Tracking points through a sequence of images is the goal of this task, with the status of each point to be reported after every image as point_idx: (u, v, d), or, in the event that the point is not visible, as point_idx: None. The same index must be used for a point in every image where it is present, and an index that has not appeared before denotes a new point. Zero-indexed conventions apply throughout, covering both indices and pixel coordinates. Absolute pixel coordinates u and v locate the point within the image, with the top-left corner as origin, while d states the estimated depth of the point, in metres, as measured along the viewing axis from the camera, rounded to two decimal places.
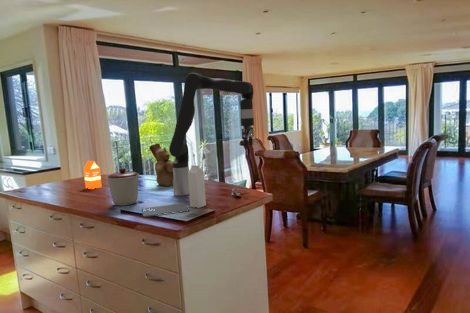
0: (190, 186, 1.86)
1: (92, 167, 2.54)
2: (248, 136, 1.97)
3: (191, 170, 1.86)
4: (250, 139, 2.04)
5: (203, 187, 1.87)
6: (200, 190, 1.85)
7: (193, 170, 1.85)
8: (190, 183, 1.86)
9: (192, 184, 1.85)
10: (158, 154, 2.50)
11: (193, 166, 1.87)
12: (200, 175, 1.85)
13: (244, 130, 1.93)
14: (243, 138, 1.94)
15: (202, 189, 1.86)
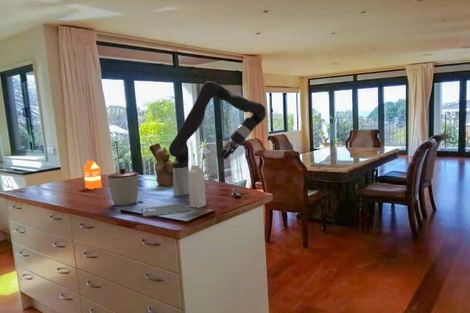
0: (190, 186, 1.86)
1: (92, 167, 2.54)
2: None
3: (191, 170, 1.86)
4: (223, 152, 1.94)
5: (203, 187, 1.87)
6: (200, 190, 1.85)
7: (193, 170, 1.85)
8: (190, 183, 1.86)
9: (192, 184, 1.85)
10: (158, 154, 2.50)
11: (193, 166, 1.87)
12: (200, 175, 1.85)
13: (236, 145, 1.84)
14: (230, 151, 1.84)
15: (202, 189, 1.86)
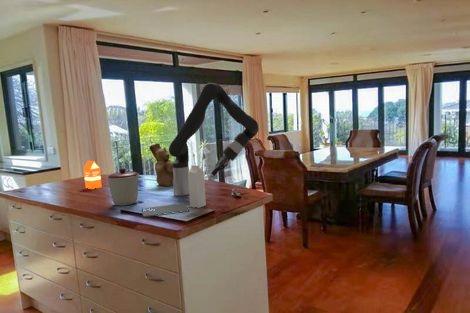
0: (190, 186, 1.86)
1: (92, 167, 2.54)
2: None
3: (191, 170, 1.86)
4: None
5: (203, 187, 1.87)
6: (200, 190, 1.85)
7: (193, 170, 1.85)
8: (190, 183, 1.86)
9: (192, 184, 1.85)
10: (158, 154, 2.50)
11: (193, 166, 1.87)
12: (200, 175, 1.85)
13: (225, 164, 1.85)
14: (219, 167, 1.87)
15: (202, 189, 1.86)
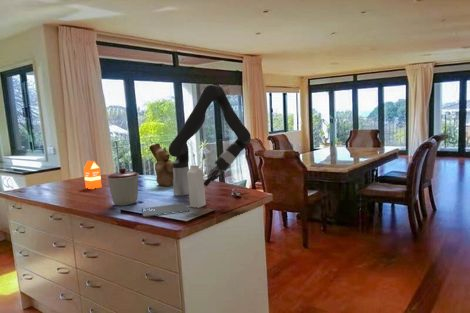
0: (190, 186, 1.86)
1: (92, 167, 2.54)
2: (214, 178, 1.89)
3: (190, 170, 1.85)
4: None
5: (203, 187, 1.87)
6: (199, 190, 1.85)
7: (192, 170, 1.85)
8: (189, 183, 1.85)
9: (191, 184, 1.85)
10: (158, 154, 2.50)
11: (192, 166, 1.86)
12: (199, 175, 1.85)
13: (217, 175, 1.84)
14: (211, 178, 1.86)
15: (201, 189, 1.86)
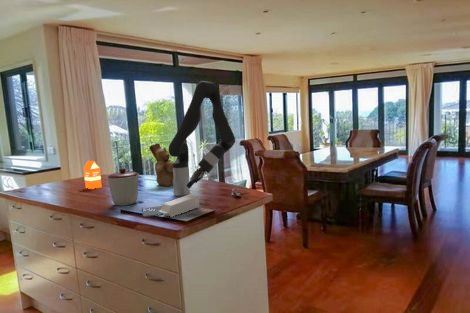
0: None
1: (92, 167, 2.54)
2: None
3: (164, 213, 1.71)
4: None
5: (184, 202, 1.75)
6: (186, 207, 1.76)
7: (165, 213, 1.71)
8: None
9: None
10: (158, 154, 2.50)
11: None
12: (174, 209, 1.70)
13: (200, 177, 1.82)
14: (194, 180, 1.83)
15: (186, 204, 1.76)
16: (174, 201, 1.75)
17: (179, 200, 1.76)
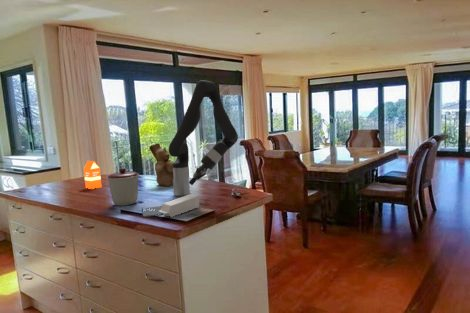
0: None
1: (92, 167, 2.54)
2: (200, 176, 1.86)
3: (164, 213, 1.71)
4: None
5: (184, 202, 1.75)
6: (186, 207, 1.76)
7: (165, 213, 1.71)
8: None
9: None
10: (158, 154, 2.50)
11: None
12: (174, 209, 1.70)
13: (202, 174, 1.82)
14: (196, 177, 1.83)
15: (186, 204, 1.76)
16: (174, 201, 1.75)
17: (179, 200, 1.76)
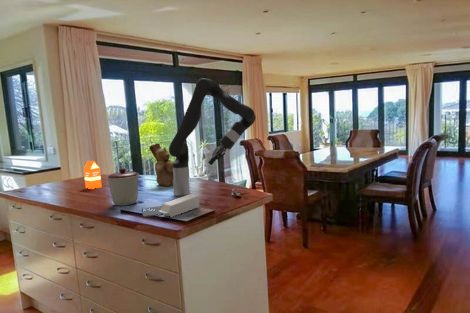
0: None
1: (92, 167, 2.54)
2: None
3: (164, 213, 1.71)
4: None
5: (184, 202, 1.75)
6: (186, 207, 1.76)
7: (165, 213, 1.71)
8: None
9: None
10: (158, 154, 2.50)
11: None
12: (174, 209, 1.70)
13: (222, 154, 1.84)
14: (216, 157, 1.86)
15: (186, 204, 1.76)
16: (174, 201, 1.75)
17: (179, 200, 1.76)
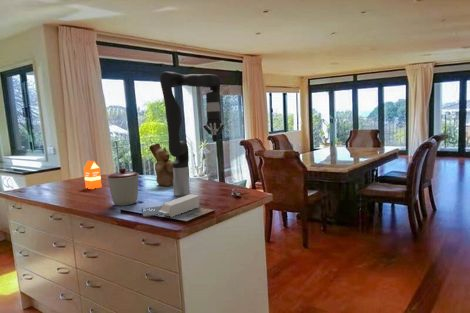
0: None
1: (92, 167, 2.54)
2: None
3: (164, 213, 1.71)
4: None
5: (184, 202, 1.75)
6: (186, 207, 1.76)
7: (165, 213, 1.71)
8: None
9: None
10: (158, 154, 2.50)
11: None
12: (174, 209, 1.70)
13: (223, 127, 1.96)
14: (219, 132, 1.97)
15: (186, 204, 1.76)
16: (174, 201, 1.75)
17: (179, 200, 1.76)
